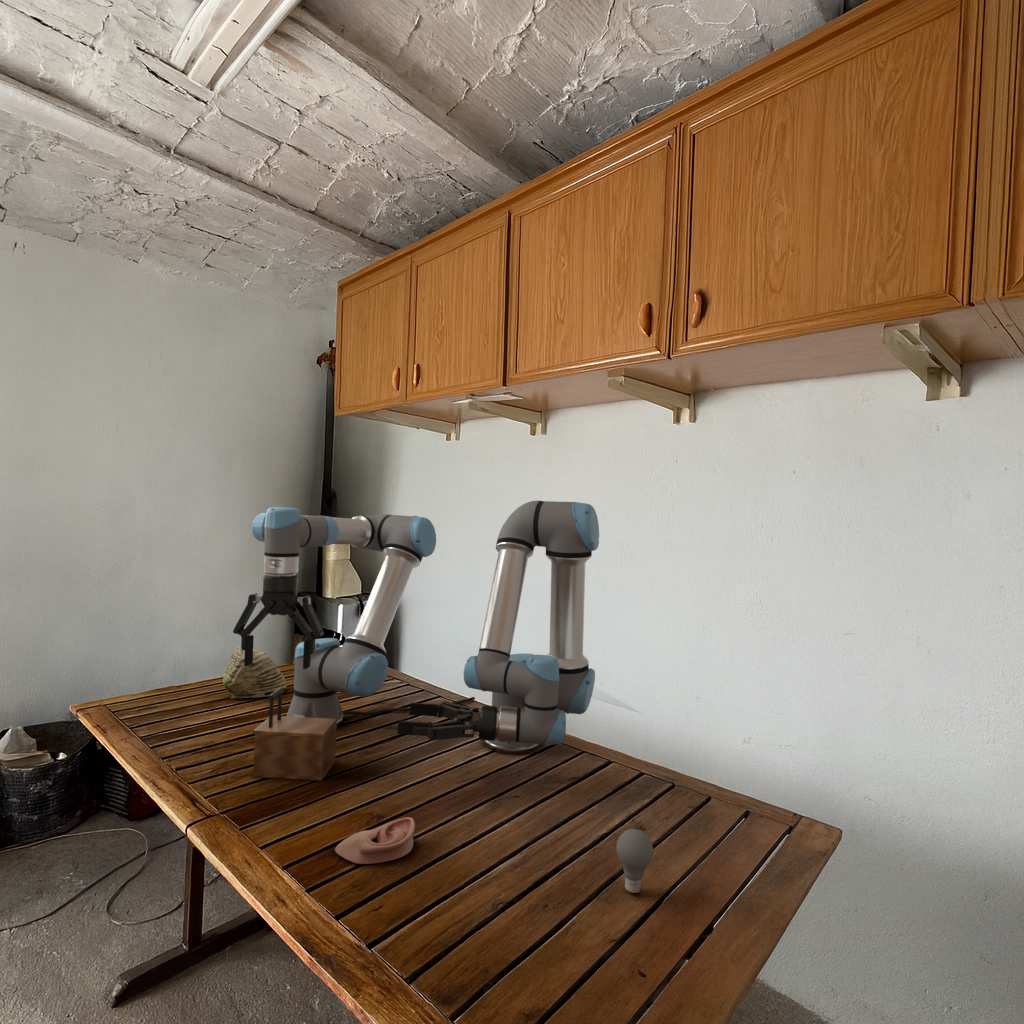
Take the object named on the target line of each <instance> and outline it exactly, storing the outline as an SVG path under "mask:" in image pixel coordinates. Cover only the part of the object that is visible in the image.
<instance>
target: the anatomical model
mask: <svg viewBox="0 0 1024 1024" xmlns="http://www.w3.org/2000/svg"><path fill="white" fill-rule="evenodd" d="M415 828H416V823H415V820H414V818H413V817H410V816H409V817H402V818H398V819H395V820H392V821H389V822H386V823H384V824H382V825H380V826H377V827H375V828H372V829H368V830H361V831H358V832H356V833H353V834H352V835H350V836H348V837H346V838H345V839H343V840H342V841H340V843H338V844H337V845H336V846H335V848H334V852H335V853H336V854H337V855H338V856H340V857H341V858H343V859H344V860H347V861H348V862H351V863H353V864H357V865H369V864H370V865H371V864H380V863H385V862H390V861H394V860H398V859H400V858H402V857H404V856H407V855H408V854H409V853H410V852H411V851H412V849H413V847H414V837H413V835H414V833H415Z"/></svg>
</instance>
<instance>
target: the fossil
mask: <svg viewBox="0 0 1024 1024" xmlns="http://www.w3.org/2000/svg"><path fill="white" fill-rule="evenodd" d="M244 659H245V650H242V649H241V646H238V647H237V648H236V649H235V650H233V651H232V653H231V656H230V657H229V659H228V660H227V663H226V666H225V668H224V671H223V675H222V676H223V677H222V685H223V687H224V688H225V690H226V691H228V693H229V698H230V699H250V698H264V697H268V696H269V695H270V694H272V693H273V692H275V691H276V690H277V689H279V688H280V687H282V688H283V689H284V692H285V691H286V689H287V687H288V686H287V680H286V678H285V676H284V674H283V673H282V672H281V669H279V668H278V667H277V665H276V663H275V662H274V660H273V659H272V658H271V657H270V656H269V655H268V654H267V653H266V652H265V650H264V649H263V648H260V647H258V648H253V663H252V664H250V665H248V666H244Z"/></svg>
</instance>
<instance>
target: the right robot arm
mask: <svg viewBox="0 0 1024 1024" xmlns="http://www.w3.org/2000/svg"><path fill="white" fill-rule="evenodd" d="M599 544H600V526H599V519H598V515H597V512H596V510H595V508H594V505H591V504H590V503H586V502H578V501H554V500H553V501H552V500H551V501H548V500H547V501H546V500H530V501H528V502H525V503H523V504H522V505H520V506H518V507H517V508H516V509H514V511H512V513H510V515H509V516H508V517H507V519H506V520H505V522H504V523H503V524H502V526H501V527H500V530H499V533H498V536H497V539H496V544H495V550H496V552H498V553H497V559H496V564H495V569H494V574H493V579H492V583H491V589H490V594H489V598H488V602H487V603H488V604H487V608H486V613H485V618H484V622H483V627H482V633H481V637H480V643H479V646H478V647H479V648H478V652H477V655H471V656H469V657H468V658H467V659H466V663H465V664H464V668H463V681H464V684H465V686H466V687H467V688H468V689H473V690H478V691H482V692H490V693H491V705H485V704H484V705H482V706H481V707H480V708H479V707H473V706H466V705H462V704H453V703H451V702H449V701H442V702H441V703H423V702H410V703H409V708H410V711H409V716H419V717H420V716H421V717H434V718H435V717H436V718H437V719H440V718H445V719H447V721H442V722H435V723H433V722H432V721H430V720H428V721H427V722H426V721H414V720H413V721H412V720H398V721H397V735H406V736H421V737H427V738H428V740H429V741H433V742H434V741H441V740H442V741H443V740H452V739H461V738H466V739H467V738H468V739H469V738H470V739H473V738H474V736H475V733H478V739H479V740H480V741H482V743H483V745H484V746H485V747H486V748H487V749H489V750H492V751H494V752H498V753H502V754H507V755H508V754H509V755H520V754H521V755H522V754H528V753H532V752H534V751H537V750H538V749H540V747H541V746H542V745H543V746H546V745H547V746H549V745H551V746H554V745H561V744H563V743H565V740H566V732H567V715H570V714H573V715H582V714H585V713H586V711H587V710H588V708H589V706H590V703H591V700H592V696H593V693H594V687H595V682H596V671H595V669H594V668H591V667H589V666H590V661H589V659H588V657H586V656H585V655H584V628H585V627H584V625H585V592H586V563H587V562H588V561H589V560H590V559H591V558H592V556H593V552H595V551H597V549H598V548H599ZM536 547H540V548H541V547H542V548H543V547H544V548H545V556H546V558H547V559H548V560H549V561H550V562H551V564H550V566H551V569H550V572H551V573H550V605H549V606H550V611H549V612H550V613H549V615H550V616H549V652H548V653H547V654H533V653H512V654H511V652H512V647H513V640H514V635H515V630H516V626H517V625H516V624H517V619H518V615H519V614H518V613H519V608H520V603H521V597H522V592H523V588H524V581H525V576H526V572H527V566H528V562H529V561H528V559H529V558H532V557H533V555H534V550H535V548H536ZM479 711H480V712H479ZM448 719H449V720H448Z"/></svg>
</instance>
